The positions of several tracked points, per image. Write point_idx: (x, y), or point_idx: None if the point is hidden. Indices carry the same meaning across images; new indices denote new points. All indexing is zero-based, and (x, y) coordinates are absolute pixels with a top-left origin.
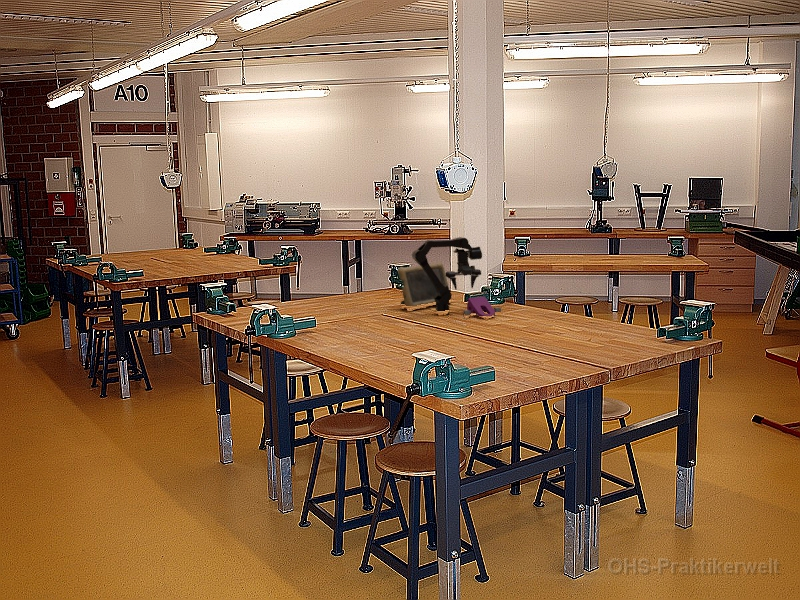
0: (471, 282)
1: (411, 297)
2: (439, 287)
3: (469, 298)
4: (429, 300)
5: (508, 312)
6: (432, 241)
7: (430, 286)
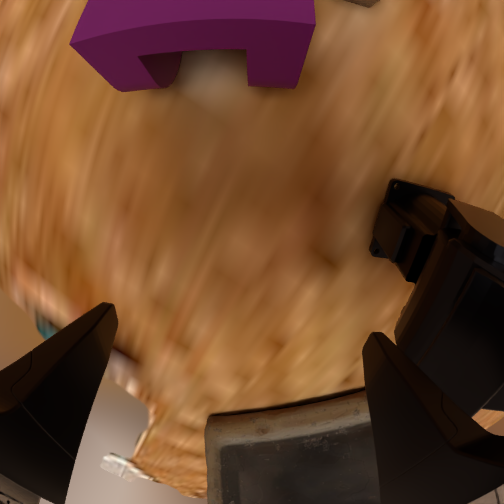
0: (82, 392)
1: None
2: None
3: (301, 13)
4: (334, 426)
5: (26, 47)
6: None
7: (312, 489)
